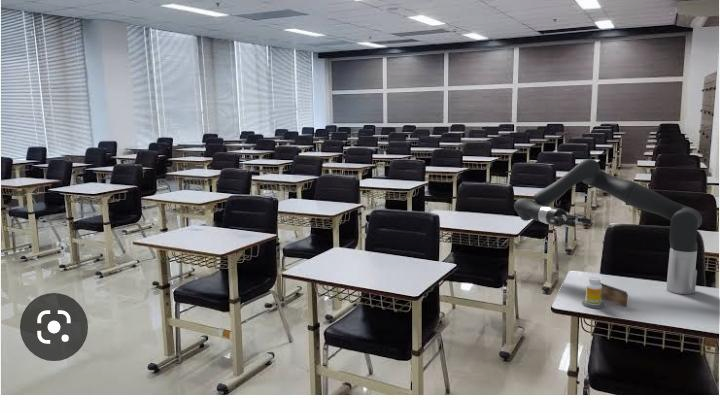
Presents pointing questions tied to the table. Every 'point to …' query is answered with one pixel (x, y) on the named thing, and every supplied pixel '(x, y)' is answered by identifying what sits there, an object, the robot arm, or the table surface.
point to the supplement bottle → (593, 291)
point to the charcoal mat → (593, 305)
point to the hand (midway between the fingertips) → (582, 223)
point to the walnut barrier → (614, 295)
